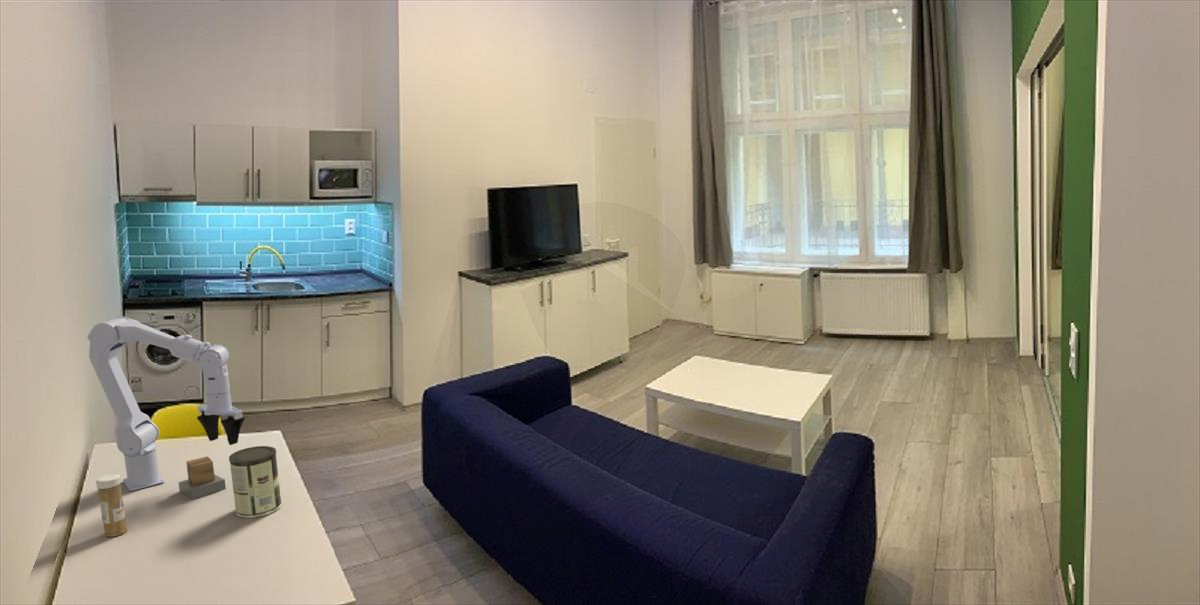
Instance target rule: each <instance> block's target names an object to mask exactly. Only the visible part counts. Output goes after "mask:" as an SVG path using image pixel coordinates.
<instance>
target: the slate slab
mask: <svg viewBox="0 0 1200 605" xmlns="http://www.w3.org/2000/svg"><path fill="white" fill-rule="evenodd" d="M214 476H215V480H214V481H210V482H206V483H202V484H198V485H194V486H193V485H192V483H191V482H190V481H189V479H188V478H187V479H185V480H181V481H179V482H178V489H179V490H178V491H179V493H180V494H183V495H185V496H186V497H188V498H190V499H192V500H193V501H194V500H197V499H200V498H202V497H205V496H208V495H211V494H215V493H218V492H221V491H223V490H226V489H227V488H226V487H227V486H226V481H225V479H226V478H223V477H221V476H219V475H216V474H215V473H214Z"/></svg>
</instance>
